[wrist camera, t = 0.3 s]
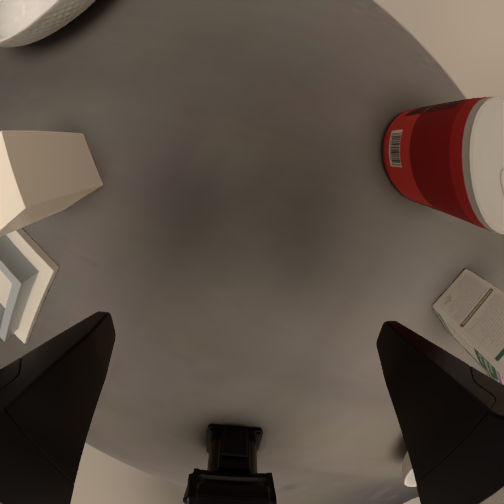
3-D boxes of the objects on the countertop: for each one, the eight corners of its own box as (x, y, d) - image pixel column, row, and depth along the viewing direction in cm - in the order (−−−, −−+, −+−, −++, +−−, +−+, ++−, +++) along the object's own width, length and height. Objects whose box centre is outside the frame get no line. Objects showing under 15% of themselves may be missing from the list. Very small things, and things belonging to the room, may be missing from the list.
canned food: (408, 218, 23) (494, 262, 12) (360, 140, 21) (446, 134, 10) (461, 171, 21) (549, 190, 11) (420, 95, 19) (510, 77, 9)
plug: (103, 185, 21) (25, 208, 12) (63, 210, 22) (-14, 243, 12) (83, 133, 20) (1, 130, 10) (44, 162, 20) (-36, 175, 11)
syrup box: (429, 305, 25) (514, 395, 12) (466, 265, 24) (562, 334, 10) (447, 332, 27) (518, 414, 13) (480, 295, 25) (560, 363, 12)
